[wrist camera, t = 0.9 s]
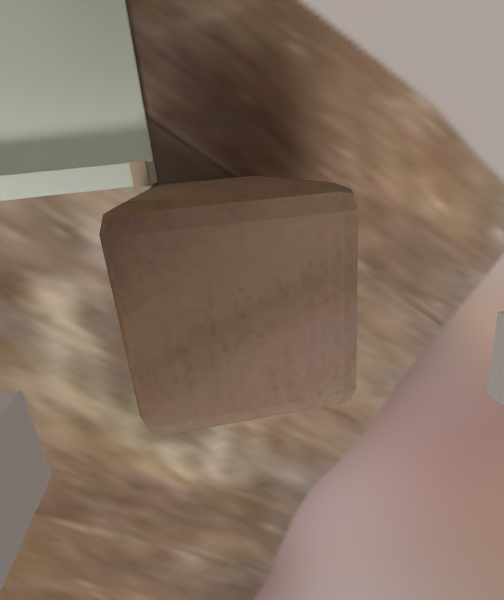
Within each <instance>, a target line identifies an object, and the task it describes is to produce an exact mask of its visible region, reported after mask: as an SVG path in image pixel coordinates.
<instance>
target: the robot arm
mask: <svg viewBox="0 0 504 600" xmlns="http://www.w3.org/2000/svg"><path fill="white" fill-rule="evenodd" d="M487 393H488V394H489V395H490V396H492V397H493V398H494V399H495V400H497V401H498V402H500V403H501V404H502V405H503V406H504V311H503V312H498V317H497V324H496V332H495V339H494V346H493V353H492V360H491V367H490V374H489V382H488V389H487ZM51 477H52V474H51V471H50V468H49V465H48V463H47V460H46V457H45V454H44V452H43V449H42V446H41V443H40V441H39V438H38V435H37V432H36V430H35V427H34V424H33V421H32V419H31V416H30V413H29V410H28V408H27V405H26V402H25V399H24V397H23V394H22V391H21V390H18V391H12V392H6V393H0V591H1V588H2V586H3V584H4V582H5V579H6V577H7V575H8V573H9V570H10V568H11V566H12V564H13V562H14V559H15V557H16V555H17V553H18V550H19V548H20V546H21V544H22V541H23V539H24V537H25V535H26V533H27V530H28V528H29V526H30V524H31V521H32V519H33V517H34V515H35V512H36V510H37V508H38V506H39V504H40V501H41V499H42V497H43V495H44V492H45V490H46V488H47V486H48V483H49V481H50V479H51Z"/></svg>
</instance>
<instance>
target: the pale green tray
mask: <svg viewBox="0 0 504 600" xmlns="http://www.w3.org/2000/svg"><path fill="white" fill-rule="evenodd" d="M156 182H157V176H156V170H155V165H154V159H153V153H152V148H151V142H150V136H149V131H148V125H147V119H146V114H145V108H144V102H143V97H142V91H141V85H140V80H139V74H138V68H137V63H136V57H135V51H134V46H133V40H132V34H131V29H130V23H129V17H128V11H127V6H126V0H0V201H3V200H12V199H21V198H30V197H40V196H49V195H58V194H68V193H77V192H86V191H96V190H105V189H114V188H124V187H133V186H134V187H138V186H147V185H151V184H154V183H156Z"/></svg>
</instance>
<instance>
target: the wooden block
mask: <svg viewBox="0 0 504 600" xmlns="http://www.w3.org/2000/svg"><path fill="white" fill-rule="evenodd" d="M99 235H100V239H101V244H102V248H103V253H104V257H105V261H106V266H107V270H108V275H109V279H110V284H111V288H112V293H113V297H114V301H115V306H116V310H117V315H118V319H119V324H120V328H121V333H122V337H123V341H124V346H125V350H126V355H127V359H128V364H129V368H130V373H131V377H132V381H133V386H134V390H135V395H136V399H137V404H138V408H139V413H140V416H141V418H142V420H143V421H144V423H145V425H146V426H147V428H148V429H149V431H150V432H151V433H155V434H162V435H168V434H173V433H179V432H185V431H190V430H196V429H201V428H207V427H213V426H218V425H224V424H230V423H235V422H241V421H247V420H252V419H258V418H264V417H269V416H275V415H281V414H286V413H292V412H298V411H303V410H309V409H315V408H320V407H326V406H332V405H337V404H342V403H343V402H345V401H347V400H349V399H351V398H352V396H353V394H354V392H355V389H356V345H357V266H358V206H357V203H356V200H355V196H354V193H353V192H352V190H351V189H350V188H347V187H344V186H341V185H338V184H336V183H331V182H320V181H309V180H298V179H287V178H277V177H266V176H244V177H234V178H223V179H212V180H202V181H191V182H181V183H170V184H159V185H156V186H154V187H152V188H151V189H149V190H147V191H145V192H143V193H141V194H139V195H137V196H136V197H134V198H132V199H130V200H128V201H126V202H124V203H122V204H121V205H119V206H117V207H115V208H113V209H112V210H110V211H108V212H106V213H105V214H103V219H102V224H101V229H100V234H99Z"/></svg>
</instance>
